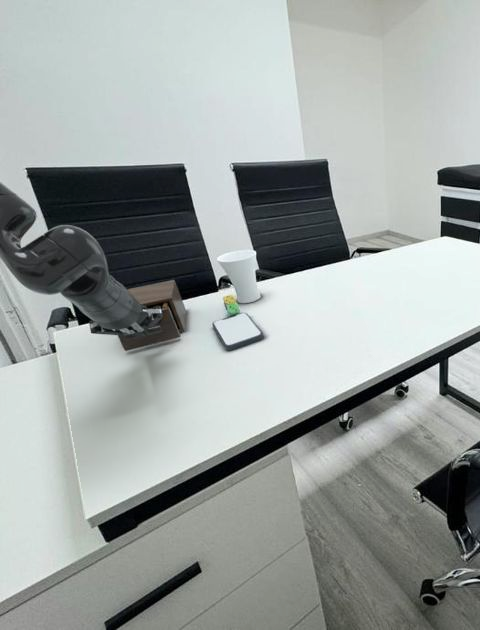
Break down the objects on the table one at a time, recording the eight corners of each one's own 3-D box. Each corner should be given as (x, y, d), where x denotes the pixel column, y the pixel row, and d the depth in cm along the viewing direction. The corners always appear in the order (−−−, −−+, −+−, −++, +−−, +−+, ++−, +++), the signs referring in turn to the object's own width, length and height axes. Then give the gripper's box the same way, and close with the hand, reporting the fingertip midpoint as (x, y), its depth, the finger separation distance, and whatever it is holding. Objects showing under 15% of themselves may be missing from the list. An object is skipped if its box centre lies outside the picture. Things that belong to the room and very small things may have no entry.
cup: (270, 300, 113) (258, 256, 107) (232, 309, 109) (217, 264, 103) (264, 289, 121) (253, 247, 115) (228, 297, 117) (215, 254, 111)
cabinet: (184, 331, 99) (171, 297, 94) (126, 346, 94) (109, 310, 89) (186, 310, 110) (174, 279, 106) (134, 322, 106) (120, 290, 101)
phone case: (266, 339, 92) (247, 316, 104) (264, 333, 92) (246, 311, 103) (227, 353, 88) (212, 327, 100) (225, 347, 87) (210, 322, 99)
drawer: (179, 344, 91) (167, 315, 87) (122, 359, 86) (107, 329, 83) (182, 316, 105) (171, 290, 101) (133, 327, 101) (120, 300, 97)
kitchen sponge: (226, 312, 107) (219, 291, 104) (236, 309, 109) (230, 288, 106) (232, 322, 101) (224, 300, 98) (242, 319, 102) (235, 298, 100)
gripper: (146, 277, 74) (172, 310, 90) (60, 293, 69) (104, 325, 84) (153, 312, 72) (179, 339, 88) (66, 331, 67) (110, 357, 83)
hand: (142, 333), depth 86 cm, fingers closed
